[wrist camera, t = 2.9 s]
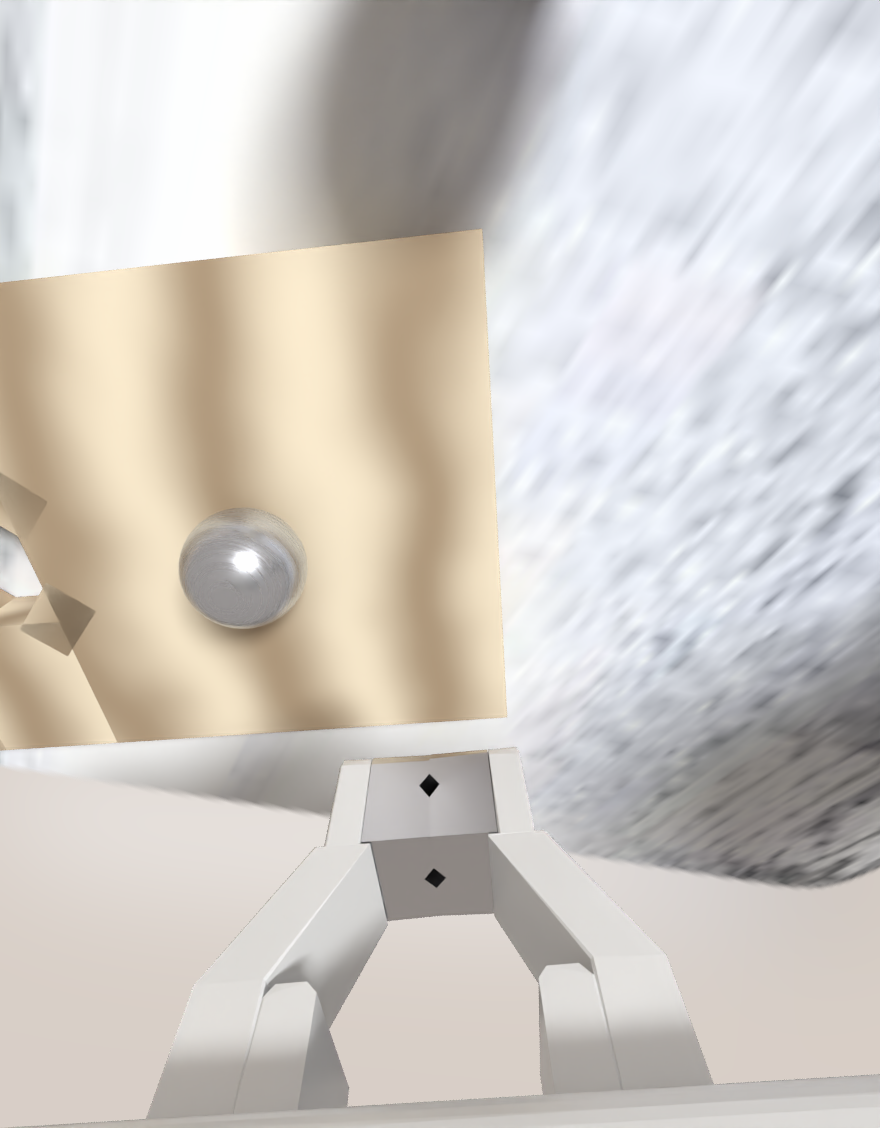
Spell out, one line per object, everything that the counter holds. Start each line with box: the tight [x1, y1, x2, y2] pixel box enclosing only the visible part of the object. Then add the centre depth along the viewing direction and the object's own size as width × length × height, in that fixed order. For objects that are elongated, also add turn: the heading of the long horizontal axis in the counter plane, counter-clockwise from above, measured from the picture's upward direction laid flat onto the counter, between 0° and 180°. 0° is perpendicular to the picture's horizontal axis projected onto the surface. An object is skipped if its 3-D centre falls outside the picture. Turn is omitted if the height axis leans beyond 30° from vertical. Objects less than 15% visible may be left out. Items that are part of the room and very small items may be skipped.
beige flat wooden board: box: [0, 229, 507, 750], centre depth 21 cm, size 26×18×2 cm
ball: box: [178, 507, 308, 629], centre depth 18 cm, size 4×4×4 cm
